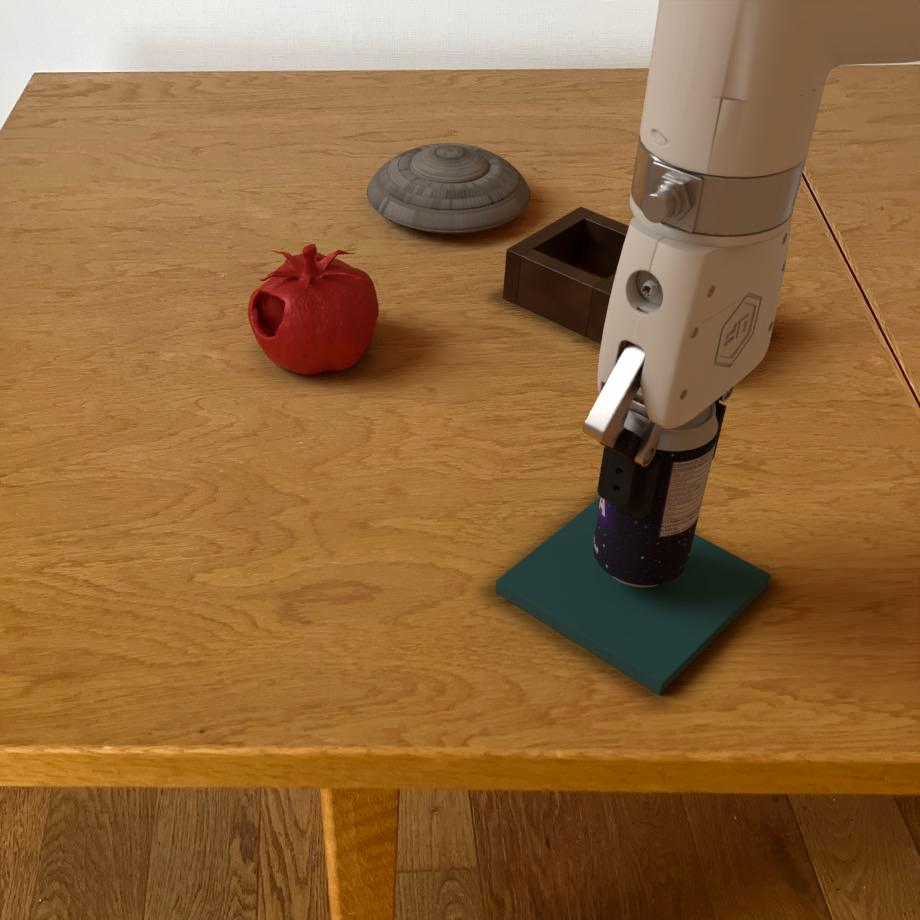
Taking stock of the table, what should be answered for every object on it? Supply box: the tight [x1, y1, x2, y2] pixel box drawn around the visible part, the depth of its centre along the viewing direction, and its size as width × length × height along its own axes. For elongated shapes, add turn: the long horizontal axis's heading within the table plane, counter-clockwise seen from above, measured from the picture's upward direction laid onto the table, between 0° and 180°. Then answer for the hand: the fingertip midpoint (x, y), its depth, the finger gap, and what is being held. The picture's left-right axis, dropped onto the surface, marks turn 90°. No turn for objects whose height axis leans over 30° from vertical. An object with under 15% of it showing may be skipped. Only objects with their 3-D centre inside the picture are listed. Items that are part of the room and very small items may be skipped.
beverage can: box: [593, 387, 719, 587], centre depth 69 cm, size 6×6×12 cm
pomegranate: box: [247, 243, 380, 376], centre depth 90 cm, size 10×10×9 cm
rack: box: [502, 206, 629, 344], centre depth 95 cm, size 18×10×4 cm, turn 47°
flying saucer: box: [366, 142, 532, 235], centre depth 109 cm, size 15×15×6 cm
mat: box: [494, 496, 772, 695], centre depth 74 cm, size 12×12×1 cm
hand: (656, 475), depth 68 cm, fingers closed on beverage can, 5 cm apart
